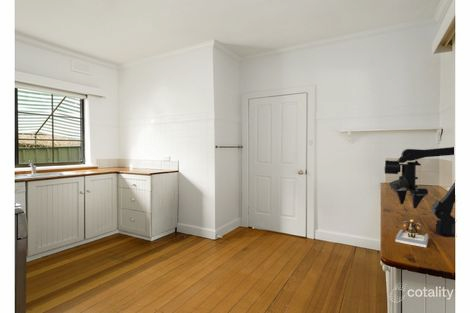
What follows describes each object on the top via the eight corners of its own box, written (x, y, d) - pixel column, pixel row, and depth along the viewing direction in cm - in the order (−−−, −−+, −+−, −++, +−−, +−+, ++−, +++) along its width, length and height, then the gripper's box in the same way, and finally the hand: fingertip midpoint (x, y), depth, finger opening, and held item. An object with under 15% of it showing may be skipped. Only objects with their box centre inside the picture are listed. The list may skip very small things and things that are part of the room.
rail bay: (400, 233, 124) (400, 229, 124) (428, 238, 117) (428, 233, 117) (395, 241, 114) (395, 236, 114) (426, 247, 107) (426, 242, 107)
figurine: (401, 235, 119) (403, 217, 118) (412, 235, 119) (413, 217, 118) (409, 239, 114) (410, 221, 113) (420, 239, 114) (421, 221, 113)
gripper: (381, 172, 137) (380, 202, 138) (405, 176, 119) (404, 210, 119) (402, 172, 138) (401, 202, 138) (429, 176, 119) (428, 210, 119)
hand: (408, 206), depth 129 cm, fingers open, 9 cm apart
